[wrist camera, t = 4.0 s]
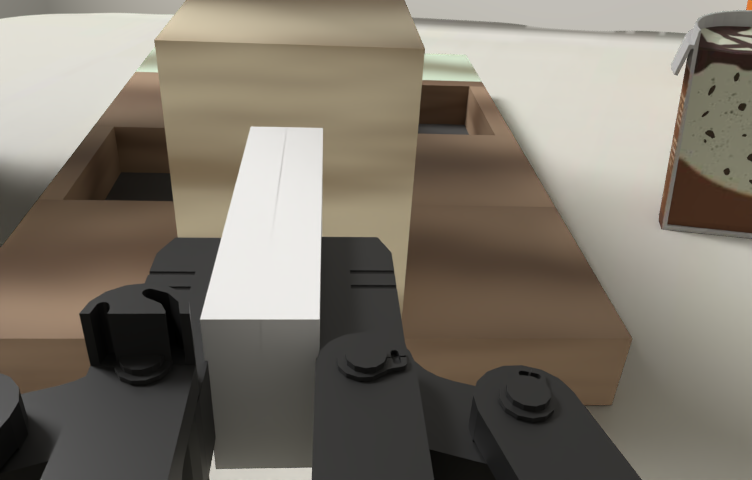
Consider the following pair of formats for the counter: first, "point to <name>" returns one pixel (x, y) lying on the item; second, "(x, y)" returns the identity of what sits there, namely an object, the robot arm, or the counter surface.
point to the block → (295, 106)
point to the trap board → (424, 257)
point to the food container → (712, 130)
